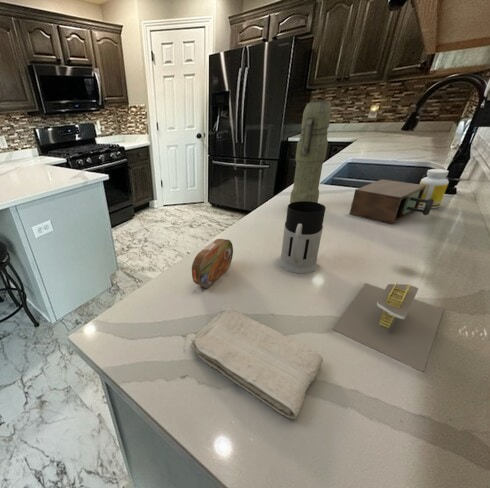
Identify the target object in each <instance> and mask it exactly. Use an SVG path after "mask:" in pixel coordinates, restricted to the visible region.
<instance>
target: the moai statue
mask: <svg viewBox="0 0 490 488" xmlns="http://www.w3.org/2000/svg"><path fill="white" fill-rule="evenodd" d="M331 114H332V105H331V100H328V99H321V100H312V101H309V102H308V103H307V104H306V106H305V108H304V109H303V113H302V121H301V127H300V128H301V133H300V134H299V139H298V141H297V143H296V151H295V152H296V153H295V160H294V161H295V163H296V164H295V171H294V179H293V187H292V190H291V192H290V198H289V204H290V203H293V202H298V201H310V202H316V203H319V197H320V190H319V186H320V181H321V176H322V170H323V164H324V162H325V160H326V156H327V150H328V146H329V140H328V128H329V127H330V120H331Z"/></svg>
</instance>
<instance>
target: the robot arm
mask: <svg viewBox="0 0 490 488" xmlns="http://www.w3.org/2000/svg"><path fill="white" fill-rule="evenodd" d="M483 96H484V99H483V101H482V103H481V104H480V107H479V110H478V112H477V115H476V116H475V119H474V122H473V124H472V127H473V128H490V78H489V79H488V82H487V85H486V87H485V90H484V93H483Z"/></svg>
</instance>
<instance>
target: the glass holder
mask: <svg viewBox="0 0 490 488" xmlns="http://www.w3.org/2000/svg"><path fill="white" fill-rule="evenodd" d="M325 215H326V206H325V204H322V203H319V202H318V203H316V202H310V201H298V202H293V203H290V202H289V203H288V205H287V209H286V218H285V222H284V227H283V235H282V243H281V244H282V245H281V254H280V257H279V259H278V261H277V262H278V265H279V267H280V268H282V269H284V270H285V271H287V272H291V273H295V274H311V273H314V272H315V271H316V270H318V263H317V259H318V256H319V255H318V254H319V249H320V246H321V245H320V244H321V240H322V234H323V230H324V225H323V224H324V219H325Z"/></svg>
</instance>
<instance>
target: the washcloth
mask: <svg viewBox="0 0 490 488" xmlns="http://www.w3.org/2000/svg"><path fill="white" fill-rule="evenodd" d="M190 341H191V343H190V344H189V347H190V348H191V349H192V350H193V351H195V354H196V355H197V357H198V358H199V359H201V361H202V362H204V363H205V364H207V365H208V366H210V367H212V368H213V369H215V370H217V371H218V372H220V373H221V374H222V375H223V376H225V377H226V378H228V379H229V380H230V381H232V382H233V383H234V384H235V385H237V386H239V387H240V388H242V389H243V390H245V391H247V392H248V393H250V394H251V395H252V396H254V397H255V398H257V399H258V400H260V401H261V402H262V403H264V404H265V405H267V406H268V407H270V408H271V409H272V410H274V411H275V412H277V413H279V414H280V415H282V416H284V417H286V418H288V419H291V420H295V419H296V420H297V418H298V416H299V415H300V414H301V410H302V407H303V406H304V401H305V398H306V392H307V391H308V389H309V387H310V385H311V384H312V383H313V382H314V381H315V379H316V377H317V375H318V373H319V371H320V368H321V366H322V364H323V360H324V359H323V356H322V355H321V354H320V353H319V352H318V351H317V350H315V349H312V348H310V347H309V346H306V345H305V344H303V343H301V342H299V341H297V340H293V338H290V337H289V336H287V335H284V334H282V333H281V332H279V331H277V330H276V329H274V328H271V327H269V326H267V325H266V324H263V323H262V322H259V321H257V320H255V319H252V318H251V317H249V316H246V315H245V314H243V313H241V312H240V311H237V310H235V309H233V308H230V307H227V308H226V309H220V310H219V311H218V313H217V315H216V316H215V317H214V318H213V319H212V320H211V321H209V322H208V324H206V325H205V326H203V328H201V329H200V331H199V332H197V334H195V335H194V336H193V337H192V338H191V339H190Z"/></svg>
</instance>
